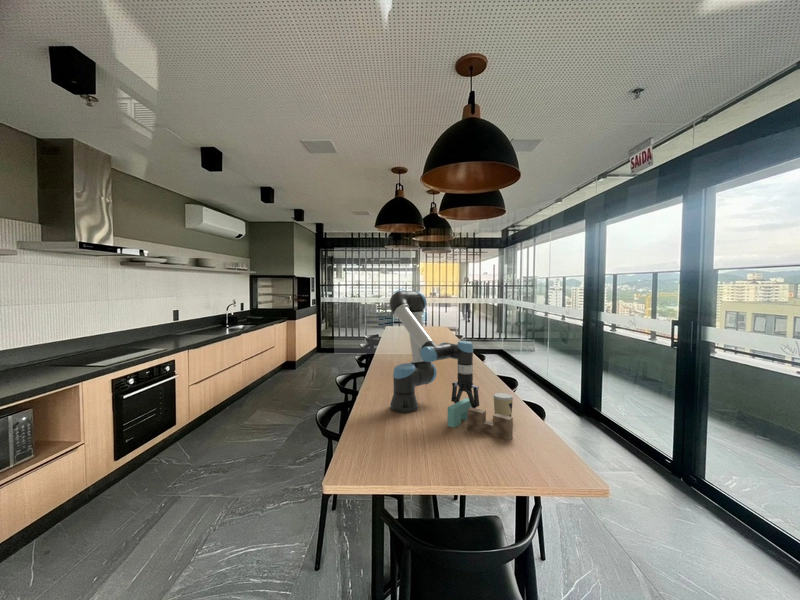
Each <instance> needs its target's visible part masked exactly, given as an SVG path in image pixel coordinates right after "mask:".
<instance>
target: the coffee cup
mask: <svg viewBox="0 0 800 600" xmlns="http://www.w3.org/2000/svg"><path fill="white" fill-rule="evenodd" d="M492 396H493V406H494V407H493V408H494V410H493V411H494V415H495V414H501V415H505V416H509V417H512V412H513V400H514V397H513V395H512V394H510V393H507V392H495V393H494V394H493V395H492Z"/></svg>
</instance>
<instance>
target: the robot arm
mask: <svg viewBox="0 0 800 600" xmlns="http://www.w3.org/2000/svg"><path fill="white" fill-rule="evenodd" d="M426 306H427V298H426V295H424V294H423V293H422V292H421V291H416V290H399V291H395V293H394V292H393V294H392V295H391V296H390V299H389V309H390V311H391V313H392V314H393V316H394V317H395V318H398V319H399V320H400V322H401V323H402V326H404V328H405V329H406V331H407V332H408V333H409V340H410V342H409V343H410V349H411V354H412V355H411V356H412V357H411V358H412V359H411V361H410V363H409V362H406V363H399V364H397V365H395V367H394V368H393V373H392V375H393V376H392V377H393V395H392V397H391V401H390V407H389V408H390V410H391V411H394V412H396V413H403V414H404V413H407V414H408V413H412V412H413V413H414V412H416V411H417V410H418V409H419V403H418V400H417V396H416V391H415V390H416V387H420V386H423V385H428V384H430V383H433V382H434V381H435V379H436V378H437V373H438V371H437V367H436V365H435V363H433V362H436V361H441V360H447V359H453V360H457V381H454V382H452V383H451V384H452V385H451V386H452V391H451V402H452V403H453V404H455V403H457V402H459V401H461V400H460V399H461V397H462V395H463V392H465V393H466V394H467V396H468V397H467V398H469V400H470V403H471V407H472V408H476V409H477V408H479V407H480V400H479V399H480V398H479V388H480V387H479V386H478V385H477V386H476V385H474V383H473V381H474V376H473V375H474V373H473V372H474V366H473V365H474V364H473V361H474V358H473V357H474V355H473V354H474V349H473V347H474V345H473V343H472V341H468V340H460V341H458V342H457V343H450V342H441V343H440V344H436V343H435V341H433V339H432V338H431V337H430V335H429V334H428V332H427V331H426V329H424V328H425V327H424V322H423V317H422V316H423V314H424V313H425V312H424V310H425V309H426ZM471 407H470V408H471Z"/></svg>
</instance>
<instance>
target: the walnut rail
mask: <svg viewBox="0 0 800 600" xmlns="http://www.w3.org/2000/svg"><path fill="white" fill-rule="evenodd" d="M513 420H514V417H512V416H511V417H509V416H505V415H501V414H495V413H494V414H493V415H492V421H488V420H487V411H486V410H483V409H479V408H477V407H476V408H472V407H471V408H469V409H468V412H467V420H466V421H467V424H466V425H467V427H466V429H467V430H471V431H474V432H478V433H481V434H485V435H489V436H491V437H494V438H498V439H499V438H500V439H503V440H504V441H511V440H512V439H513V437H514V436H513V434H514V433H513V432H514V431H513V430H514V429H513V428H514V427H513V425H514V423H513V422H514V421H513Z"/></svg>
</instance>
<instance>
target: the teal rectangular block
mask: <svg viewBox="0 0 800 600" xmlns="http://www.w3.org/2000/svg"><path fill="white" fill-rule="evenodd" d="M470 407H471V403H470V400H469V397H465V398H463V399H461V400H459V402H457V403H453V404H451V405H449V406H447V427H450V428H453V429H454V428H456V427H458V426H460V425H461V424H462V421H467V412H468V409H469V408H470Z"/></svg>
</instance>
